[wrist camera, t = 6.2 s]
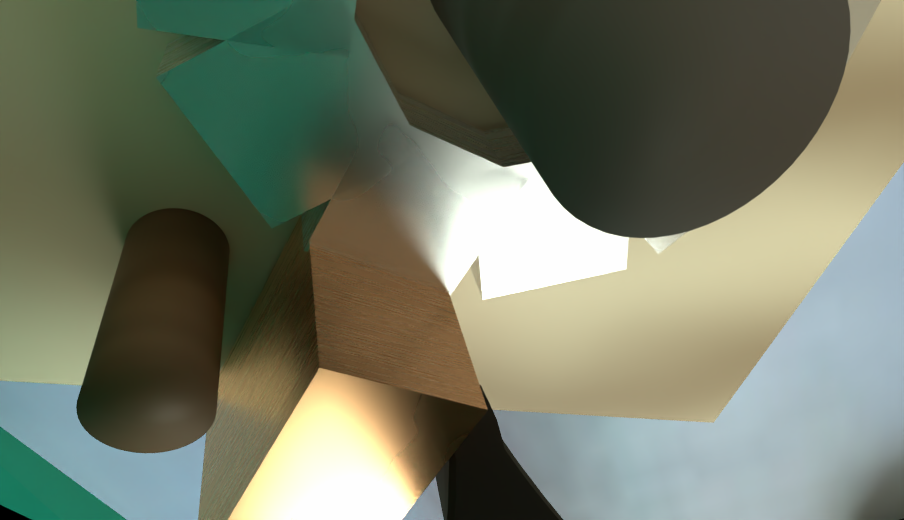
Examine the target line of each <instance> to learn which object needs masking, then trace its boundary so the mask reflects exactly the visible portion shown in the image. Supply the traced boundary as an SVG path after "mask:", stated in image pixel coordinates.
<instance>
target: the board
mask: <svg viewBox="0 0 904 520" xmlns="http://www.w3.org/2000/svg"><path fill="white" fill-rule="evenodd" d="M355 12H356V14H357V16H358V17H359V19H360V21H361V23H362V25H363V27H364V29H365V31H366V33H367V35H368V37H369V39H370V41H371V42H372V44H373V46H374V48H375V50H376V52H377V54H378V56H379V58H380V60H381V62H382V64H383V65H384V67H385V69H386V71H387V73H388V75H389V77H390V79H391V81H392V83H393V85H394V87H395V89H396V90H397V91H399V92H401V93H403V94H405V95H407V96H409V97H411V98H414V99H416V100H418V101H420V102H422V103H424V104H426V105H428V106H431V107H433V108H435V109H437V110H439V111H441V112H443V113H445V114H448V115H450V116H452V117H454V118H456V119H458V120H460V121H462V122H465V123H467V124H469V125H471V126H473V127H475V128H477V129H479V130H482V131H487V130H493V129H498V128H504V127H509V128H510V129H511V131H512V132H513V134H514V136H515V137H516V139H517V140H518V142H519V143H520V145H521V147H522V148H523V150H524V151H525V153H526V154H527V156H528V157H529V159H530V161H531V162H532V164H533V165H534V167H535V168H536V170H537V172H538V173H539V175H540V176H541V178H542V179H543V181H544V182H545V184H546V186H547V187H548V189H549V190H550V192H551V193H552V195H553V196H554V198H555V199H556V200H557V201H558V202H559V203H560V204H561V206H562V207H563V208H564V209H565V210H566V211H568V212H569V213H570V214H571V215H572V216H574V217H575V218H576V219H578V220H579V221H581V222H583V223H585V224H586V225H588V226H590V227H592V228H595V229H597V230H600V231H602V232H605V233H608V234H613V235H617V236H621V237H629V241H628V254H627V266H626V269H625V270H620V271H615V272H610V273H606V274H601V275H596V276H592V277H587V278H582V279H578V280H573V281H568V282H563V283H559V284H554V285H549V286H545V287H540V288H535V289H530V290H526V291H521V292H516V293H512V294H507V295H502V296H497V297H493V298H488V299H482V296H481V294H480V291H479V289H478V286H477V284H476V281H475V278H474V276H473V273H472V271H471V268H470V267H469V269H468V270H467V272H466V273H465V275H464V276H463V278H462V279H461V281H460V282H459V284H458V285H457V287H456V288H455V289H454V291H453V292H452V294H451V295H450V297H451V300H452V303H453V306H454V310H455V313H456V316H457V319H458V322H459V325H460V328H461V331H462V334H463V337H464V340H465V343H466V346H467V349H468V352H469V355H470V358H471V361H472V364H473V367H474V370H475V373H476V376H477V379H478V382H479V385H481V386H482V389H483V391H484V393H485V395H486V397H487V399H488V401H489V403H490V405H491V408H492V410H508V411H525V412H542V413H559V414H576V415H593V416H610V417H627V418H645V419H662V420H679V421H696V422H713V423H714V421H715V420H716V418H717V417H718V416H719V414H720V413H721V412H722V410H723V409H724V407H725V406H726V405H727V403H728V402H729V401H730V399H731V398H732V396H733V395H734V394H735V392H736V391H737V390H738V388H739V387H740V386H741V384H742V383H743V381H744V380H745V379H746V377H747V376H748V375H749V373H750V372H751V370H752V369H753V368H754V366H755V365H756V364H757V362H758V361H759V359H760V358H761V357H762V355H763V354H764V353H765V351H766V350H767V349H768V347H769V346H770V344H771V343H772V342H773V340H774V339H775V338H776V336H777V335H778V333H779V332H780V331H781V329H782V328H783V327H784V325H785V324H786V323H787V321H788V320H789V318H790V317H791V316H792V314H793V313H794V312H795V310H796V309H797V307H798V306H799V305H800V303H801V302H802V301H803V299H804V298H805V296H806V295H807V294H808V292H809V291H810V290H811V288H812V287H813V286H814V284H815V283H816V281H817V280H818V279H819V277H820V276H821V275H822V273H823V272H824V270H825V269H826V268H827V266H828V265H829V264H830V262H831V261H832V260H833V258H834V257H835V255H836V254H837V253H838V251H839V250H840V249H841V247H842V246H843V244H844V243H845V242H846V240H847V239H848V238H849V236H850V235H851V233H852V232H853V231H854V229H855V228H856V227H857V225H858V224H859V223H860V221H861V220H862V218H863V217H864V216H865V214H866V213H867V212H868V210H869V209H870V207H871V206H872V205H873V203H874V202H875V201H876V199H877V198H878V196H879V195H880V194H881V192H882V191H883V190H884V188H885V187H886V186H887V184H888V183H889V181H890V180H891V179H892V177H893V176H894V175H895V173H896V172H897V170H898V169H899V168H900V166H901V165H902V164H903V162H904V0H881V2H880V4H879V6H878V7H877V9H876V11H875V13H874V15H873V17H872V18H871V20H870V22H869V24H868V26H867V28H866V29H865V31H864V33H863V35H862V37H861V39H860V40H859V42H858V44H857V46H856V48H855V50H854V51H853V53H852V55H851V57H850V59H849V61H848V62H847V58H848V53H849V44H850V34H851V27H850V9H849V4H848V0H357V2H356V9H355ZM183 35H184V34H177V33H170V32H162V31H155V30H148V29H141V28H137V6H136V0H0V381H15V382H32V383H49V384H66V385H82V383H83V380H84V377H85V373H86V370H87V367H88V363H89V360H90V357H91V353H92V350H93V347H94V343H95V340H96V337H97V333H98V330H99V327H100V323H101V320H102V316H103V313H104V310H105V306H106V303H107V300H108V296H109V293H110V290H111V286H112V283H113V280H114V276H115V273H116V270H117V266H118V263H119V260H120V256H121V253H122V250H123V246H124V243H125V239H126V236H127V233H128V231H129V230H130V228H131V226H132V225H133V224H134V223H135V222H136V221H137V220H138V219H139V218H141V217H142V216H144V215H146V214H148V213H150V212H153V211H156V210H160V209H166V208H181V209H187V210H191V211H195V212H198V213H200V214H202V215H204V216H206V217H208V218H210V219H211V220H212V221H214V222H215V223H216V224H217V225H218V226H219V227H220V228H221V229H222V231H223V232H224V234H225V235H226V238H227V240H228V243H229V249H230V253H229V265H228V278H227V290H226V302H225V314H224V326H223V339H222V351H221V363H220V370H221V369H222V367H223V365H224V363H225V361H226V359H227V357H228V355H229V353H230V351H231V349H232V347H233V345H234V343H235V341H236V339H237V337H238V336H239V334H240V332H241V330H242V328H243V326H244V324H245V322H246V320H247V318H248V316H249V314H250V312H251V310H252V308H253V306H254V305H255V303H256V301H257V299H258V297H259V295H260V293H261V291H262V289H263V287H264V285H265V283H266V281H267V279H268V277H269V275H270V273H271V272H272V270H273V268H274V266H275V264H276V262H277V260H278V258H279V256H280V254H281V252H282V250H283V248H284V246H285V244H286V242H287V240H288V239H289V237H290V235H291V233H292V231H293V229H294V227H295V225H296V223H297V221H298V219H299V217H300V215H301V214H300V215H298V216H296V217H294V218H292V219H290V220H288V221H286V222H284V223H282V224H280V225H278V226H276V227H274V228H271V227H270V226H269V224H268V223H267V222H266V220H265V219H264V218H263V217H262V215H261V214H260V213H259V211H258V210H257V209H256V207H255V206H254V205H253V204H252V202H251V201H250V200H249V198H248V197H247V196H246V194H245V193H244V192H243V190H242V189H241V188H240V187H239V185H238V184H237V183H236V181H235V180H234V179H233V177H232V176H231V175H230V174H229V172H228V171H227V170H226V168H225V167H224V166H223V164H222V163H221V162H220V160H219V159H218V158H217V157H216V155H215V154H214V153H213V151H212V150H211V149H210V147H209V146H208V145H207V144H206V142H205V141H204V140H203V138H202V137H201V136H200V134H199V133H198V132H197V130H196V129H195V128H194V127H193V125H192V124H191V123H190V121H189V120H188V119H187V117H186V116H185V115H184V114H183V112H182V111H181V110H180V108H179V107H178V106H177V104H176V103H175V102H174V100H173V99H172V98H171V97H170V95H169V94H168V93H167V91H166V90H165V89H164V87H163V86H162V85H161V84H160V82H159V81H158V80H157V78H156V75H157V73H158V70H159V67H160V64H161V61H162V58H163V56H164V53H165V50H166V47H167V44H168V43H170V42H172V41H174V40H176V39H178V38H179V37H181V36H183ZM846 62H847V64H846ZM684 232H686V233H685V234H684V235H683V236H681V237H680V238H679V239H677V240H676V241H675V242H673V243H672V244H671V245H670V246H668V247H667V248H666V249H664V250H663V251H662V252H660V253H659V254H658V253H657V252H656V251H655V250H654V249H653V247H652V246H651V245H650V244H649V243H648V242H647V241H646V240H645V239H644V238H657V237H664V236H671V235H676V234H680V233H684Z"/></svg>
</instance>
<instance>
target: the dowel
mask: <svg viewBox="0 0 904 520" xmlns="http://www.w3.org/2000/svg"><path fill="white" fill-rule="evenodd" d="M229 253H230V249H229V243H228V240H227V238H226V235H225V234H224V232H223V231H222V229H221V228H220V227H219V226H218V225H217V224H216V223H215V222H214V221H212V220H211V219H210V218H208V217H206V216H204V215H202V214H200V213H198V212H195V211H191V210H187V209H181V208H166V209H160V210H156V211H153V212H150V213H148V214H146V215H144V216H142V217H141V218H139V219H138V220H137V221H136V222H135V223H134V224H133V225H132V226H131V228H130V230H129V231H128V233H127V236H126V239H125V243H124V246H123V250H122V253H121V256H120V260H119V263H118V266H117V270H116V273H115V276H114V280H113V283H112V286H111V290H110V293H109V296H108V300H107V303H106V306H105V310H104V313H103V316H102V320H101V323H100V327H99V330H98V333H97V337H96V340H95V343H94V347H93V350H92V353H91V357H90V360H89V363H88V367H87V370H86V373H85V377H84V380H83V383H82V387H81V390H80V393H79V397H78V400H77V407H76V408H77V415H78V418H79V421H80V423H81V425H82V426H83V427H84V429H85V430H86V431H87V432H88V433H89V434H90V435H91V436H93V437H94V438H95V439H97V440H99V441H100V442H102V443H104V444H106V445H108V446H111V447H114V448H117V449H120V450H124V451H129V452H136V453H158V452H166V451H171V450H175V449H178V448H181V447H184V446H186V445H188V444H191V443H193V442H194V441H196V440H197V439H199V438H200V437H202V436H203V435H204V434H205V433H206V432H207V431H208V430H209V429H210V427H211V426H212V424H213V422H214V420H215V417H216V412H217V400H218V387H219V375H220V363H221V351H222V339H223V326H224V314H225V302H226V290H227V278H228V265H229Z"/></svg>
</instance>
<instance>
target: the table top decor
mask: <svg viewBox="0 0 904 520" xmlns="http://www.w3.org/2000/svg"><path fill="white" fill-rule="evenodd" d="M0 520H126V519H125V518H123V517H122V516H121V515H119V514H118V513H117V512H115V511H114V510H113V509H111V508H110V507H109V506H107V505H106V504H104V503H103V502H102V501H100V500H99V499H98V498H96V497H95V496H94V495H92V494H91V493H90V492H88V491H87V490H85V489H84V488H83V487H81V486H80V485H79V484H77V483H76V482H75V481H73V480H72V479H71V478H69V477H68V476H66V475H65V474H64V473H62V472H61V471H60V470H58V469H57V468H56V467H54V466H53V465H52V464H50V463H49V462H47V461H46V460H45V459H43V458H42V457H41V456H39V455H38V454H37V453H35V452H34V451H33V450H31V449H30V448H28V447H27V446H26V445H24V444H23V443H22V442H20V441H19V440H18V439H16V438H15V437H14V436H12V435H11V434H9V433H8V432H7V431H5V430H4V429H3V428H1V427H0Z"/></svg>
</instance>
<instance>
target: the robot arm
mask: <svg viewBox="0 0 904 520" xmlns="http://www.w3.org/2000/svg"><path fill="white" fill-rule="evenodd" d="M480 388H481V391H482V394H483V397H484V400H485V403H486V406H487V409H488V410H487V411H486V413H485V414H484V415H483V417H482V418H481V419H480V420H479V422H478V423H477V424H476V425H475V427H474V428H473V429H472V431H471V432H470V433H469V434H468V436H467V437H466V438H465V439H464V441H463V442H462V443H461V445H460V446H459V447H458V448H457V450H456V451H455V452H454V453H453V455H452V456H451V457H450V459H449V460H448V461H447V462H446V464H445V465H444V466H443V467H442V469H441V470H440V471H439V473H438V474H437V475H436V481H437V486H438V491H439V497H440V502H441V507H442V512H443V517H444V520H563V519H562V518H561V516H560V515H559V514H558V513H557V512H556V510H555V509H554V508H553V507H552V505H551V504H550V503H549V502H548V501H547V499H546V498H545V497H544V496H543V494H542V493H541V492H540V490H539V489H538V488H537V486H536V485H535V484H534V482H533V481H532V480H531V479H530V477H529V476H528V475H527V473H526V472H525V471H524V469H523V468H522V467H521V465H520V464H519V463H518V461H517V460H516V458H515V457H514V456H513V454H512V453H511V451H510V450H509V449H508V447H507V446H506V444H505V443H504V441H503V440H502V437H501V433H500V430H499V426H498V422H497V419H496V417H495V415H494V412H493V410H492V408H491V405H490V403H489V401H488V399H487V397H486V395H485V393H484V391H483V389H482V386H481V385H480Z"/></svg>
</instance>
